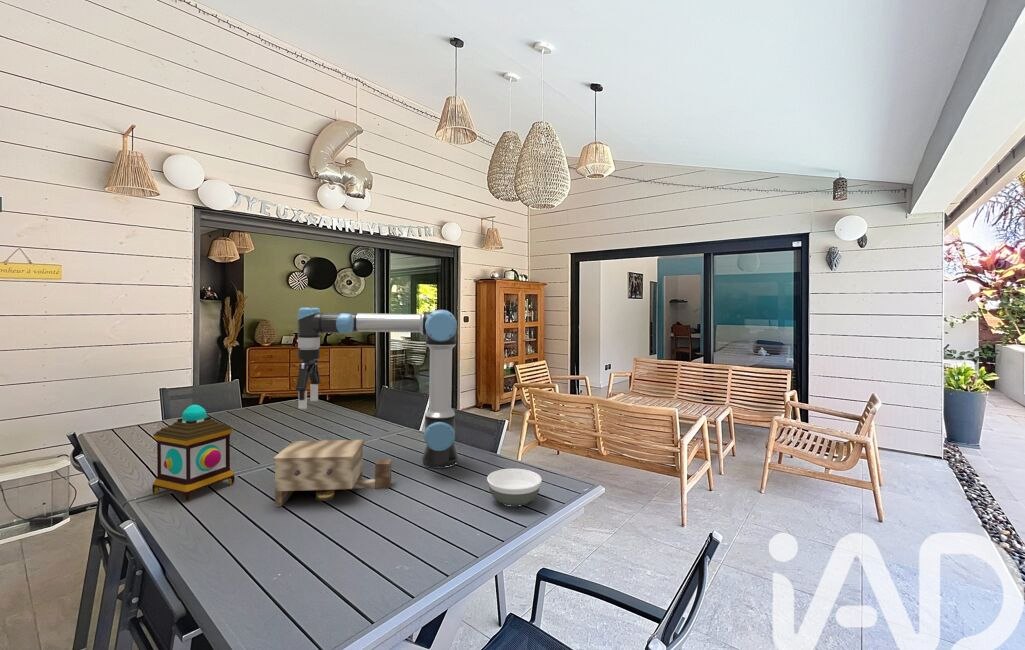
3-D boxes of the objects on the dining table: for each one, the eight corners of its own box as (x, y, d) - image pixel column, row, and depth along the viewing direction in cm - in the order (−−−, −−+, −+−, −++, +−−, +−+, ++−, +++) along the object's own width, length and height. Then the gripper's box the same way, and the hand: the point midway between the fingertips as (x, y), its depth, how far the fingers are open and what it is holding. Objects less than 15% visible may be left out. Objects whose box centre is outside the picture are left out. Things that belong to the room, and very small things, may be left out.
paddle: (391, 483, 167) (391, 459, 167) (389, 488, 162) (389, 463, 162) (315, 485, 164) (315, 460, 164) (310, 490, 159) (310, 465, 159)
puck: (336, 494, 157) (336, 487, 157) (332, 501, 151) (332, 494, 151) (318, 494, 156) (318, 487, 156) (313, 501, 150) (313, 494, 150)
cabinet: (364, 482, 168) (364, 439, 167) (352, 505, 148) (352, 457, 147) (293, 484, 164) (293, 441, 164) (271, 508, 145) (271, 459, 144)
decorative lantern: (144, 495, 153) (143, 407, 152) (202, 475, 171) (202, 397, 170) (185, 505, 146) (184, 413, 145) (241, 483, 164) (240, 401, 163)
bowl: (501, 518, 141) (501, 492, 140) (477, 496, 157) (478, 472, 157) (551, 507, 149) (552, 483, 149) (524, 487, 166) (525, 465, 166)
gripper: (308, 345, 181) (308, 398, 182) (286, 351, 156) (285, 412, 157) (328, 345, 182) (328, 397, 183) (308, 351, 157) (308, 412, 158)
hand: (308, 404), depth 170 cm, fingers open, 13 cm apart
